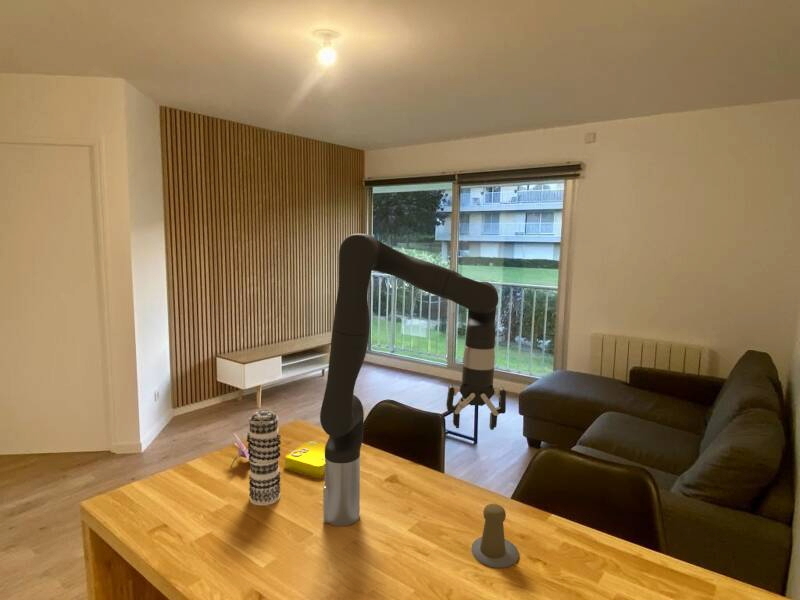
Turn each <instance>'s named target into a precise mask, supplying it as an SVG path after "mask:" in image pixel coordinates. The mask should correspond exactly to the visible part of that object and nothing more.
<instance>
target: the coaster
mask: <svg viewBox="0 0 800 600" xmlns="http://www.w3.org/2000/svg"><path fill="white" fill-rule="evenodd" d="M504 539H505V550H506V553H505V555H504V556H503V557H501V558H490V557H487V556H485V555H484V554H482V552H481V551H480V545H481V540H482V536H480V537H478V538H476V539H475V540H474V541H473V542H472V544H471V554H472V556H473V557H474V559H475V560H476V561H477V562H478V563H480V564H482V565H485V566H487V567H490V568H492V569H493V568H495V569H506V568H510V567H512V566H514V565H515V564H516V563H517V562H518V560H519V550H518V548H517V546H515V544H514V543H512V542H511V541H509V540H508V539H506V538H504Z"/></svg>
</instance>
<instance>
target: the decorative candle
mask: <svg viewBox="0 0 800 600" xmlns="http://www.w3.org/2000/svg"><path fill="white" fill-rule="evenodd" d="M279 418H280V417H279V415H277V414H276V413H275V412H274V411H273V410H268V409H265V410H264V409H263V410H259V411H255V412H254V413H253V414H252V416H251V417H249V418H248V422H249V432H247V435H246V442H247V443H248V444H247V447H248V448H247V449H248V454H249V459H247V460H248V462H249V463H250V470H249V477H248V479H249V483H248V484H249V488H248V489H249V490H248V491H249V494H248V495H249V502H250V503H251V504H252V505H255V506H260V507H261V506H262V507H263V506H269V505H272V504H274V503H277V502H278V501H279V500H280V498H281V484H282V483H280V482H281V472H280V466H279V460H280V457H281V447H280V446H279V445H281V443H282V441H281V438H282V437H281V434H279V425H278V424H279V423H278V420H279Z"/></svg>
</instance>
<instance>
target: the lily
mask: <svg viewBox="0 0 800 600" xmlns="http://www.w3.org/2000/svg"><path fill="white" fill-rule="evenodd" d="M233 435H234V436H235V438H236V439H237V443H236V442H234V445H235V446H236V447H237V448H238V449H237V456H236V457H235V458H234V460H233V461H232V462H231V465H230V468H232V466H233V464H234V463H235V461H236V460H237V458H239V457H240V458H246V459H247V460H248V459H249V454H248V446H247V447H246V446H245V444H243V442H242V441H241V439H240V438H239V436H238V435H237V434H236V433H235V432H234V433H233Z"/></svg>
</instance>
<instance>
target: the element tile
mask: <svg viewBox="0 0 800 600" xmlns="http://www.w3.org/2000/svg"><path fill="white" fill-rule="evenodd" d="M325 446H326V443H324V442H320V441H316V440H308V441H306V442H305V443H303V444H302V445H299V446H298V447H296V448H295V449H293V450H292V451H290V452H288V453H286V454H285V455H284V469H285V470H287V471H290V472H293V473H297V474H300V475H305V476H306V477H311V478H315V479H321V478H325Z"/></svg>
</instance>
